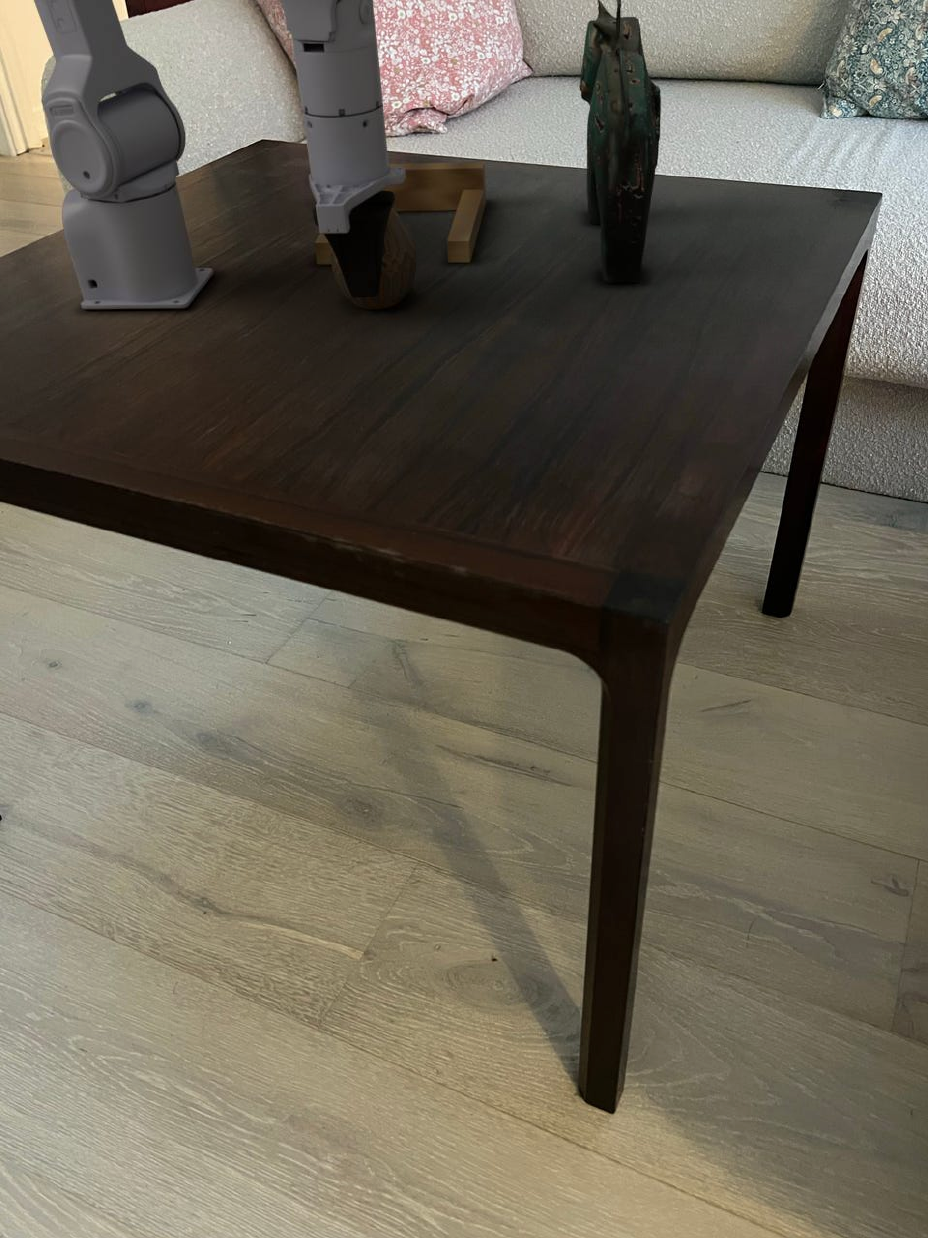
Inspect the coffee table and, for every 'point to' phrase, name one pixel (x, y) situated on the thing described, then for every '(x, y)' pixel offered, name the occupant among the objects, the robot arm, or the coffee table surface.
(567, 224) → the coffee table surface
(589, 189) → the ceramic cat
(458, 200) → the rack
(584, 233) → the coffee table surface
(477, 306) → the coffee table surface
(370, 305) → the vase
